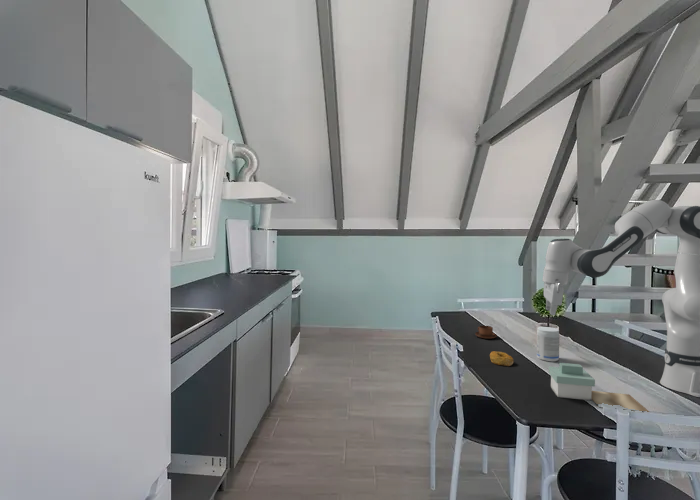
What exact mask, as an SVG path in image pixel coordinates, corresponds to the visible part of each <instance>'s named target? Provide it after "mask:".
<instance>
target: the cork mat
mask: <svg viewBox="0 0 700 500" xmlns="http://www.w3.org/2000/svg"><path fill="white" fill-rule="evenodd" d="M591 401H593V403H596V404H602V403H604V404H608V405H612V406H613V405H620V406H622V407H624V408H628V409H635V410H639V411H647V412H650V410H649V409H647V408H646V407H644V405H642V403H640V402H639V401H638V400H637V399H635V398H634V397H633V396H632V395H631V394H629V393H619V392H608V391H597V390H592V395H591ZM596 404H595V405H596Z"/></svg>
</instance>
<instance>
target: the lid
mask: <svg viewBox="0 0 700 500" xmlns="http://www.w3.org/2000/svg"><path fill="white" fill-rule="evenodd" d="M548 374H549V376H550V377H551V376H552V378H553V379H554V380H555V382H556V383H563V384H573V385H583V386H592V387H594V388H595V386H596V378H594V377H593V376H591V375H592V374H590V373H589V372H588V371H587V370H585V369H584V367H583V366H582V365H581V364H579V363H567V362H559V366H550V365H549V366H548Z"/></svg>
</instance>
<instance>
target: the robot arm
mask: <svg viewBox="0 0 700 500" xmlns="http://www.w3.org/2000/svg"><path fill="white" fill-rule="evenodd" d="M614 230H615V234H616V235H617V236H616V237H614V239H612V240H611V241H609V242H608V243H607V244H605V245H604V246H603V247H601V248H597V249H587V248H586V249H585V248H584V247H581V246H579V245H578V244H576V243H575V242H573V240H572V239H570V238H555V239H551V240H550V242H549V243H548V246H547V249H546V254H545V258H544V259H545V260H544V261H545V265H544V268H543V272H542V273H543V274H542V280H541V281H542V282H543V297H544V298H545V300H546V301H545V304H546V305H545V310H546V311H548V312H549V314H550V315H551V316H556V312H557V310H558V306H562V304H563V298H564V286H567V285H568V283H569V276H570V271H572V272H575V273H577V274H581V275H585V276H588V277H591V278H600V277H603V276H605V275H606V274H608V273H609V271H610V270H611V268H612V267H613V265H615V263H616V261H618V260H619V259H621V258H622V257H623V256H625V255H626V254H627V253H628V252H630V251H631V250H632V249H633V248H635V247H636V246H637V245H638V244H640V242H641V241H642V240H643V239H645V238H647V236H649V235H650V234H652V233H654V232H656V233H658V234H662V235H673V236H678V239H679V245H678V250H677V253H676V260H675V265H674V270H673V273H674V274H673V275H674V277H675V287H673V288H670V289H666V291H664V293H662V296H661V302H662V304H663V311H664V317H665V318H664V319H665V325H666V348H665V349H664V363H665V364H664V368H663V373H662V376H661V378H660V380H659V383H660V384H661V385H662V386H664V387H666V388H667V389H671V390H673V391H676V392H680V393H684V394H687V395H691V396H693V397H697V398H700V206H699V205H693V206H692V205H691V206H689V205H680V206H679V205H678V206H673V207H672V206H670V205H669V204H668V203H667V202H665V201H664V200H661V199H651V200H648V201H646V202H643V203H640V205H638V206H636V207H634V208H633V209H631V210H629V211H628V212H626V213H624V214H623V215H622V216H620V217H619V219H618V220H616V222H615V224H614Z"/></svg>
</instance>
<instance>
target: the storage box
mask: <svg viewBox="0 0 700 500" xmlns="http://www.w3.org/2000/svg"><path fill="white" fill-rule="evenodd" d="M592 387H593V386H583V385H573V384H563V383H556V382H555V380H554V379H553V378H552V376H551V375H550V389H551V390H552V391H553V392H554V394H555V396H557V398H564V399H573V400H574V399H575V400H582V401H592V399H591V395H592V391H593V388H592Z"/></svg>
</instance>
